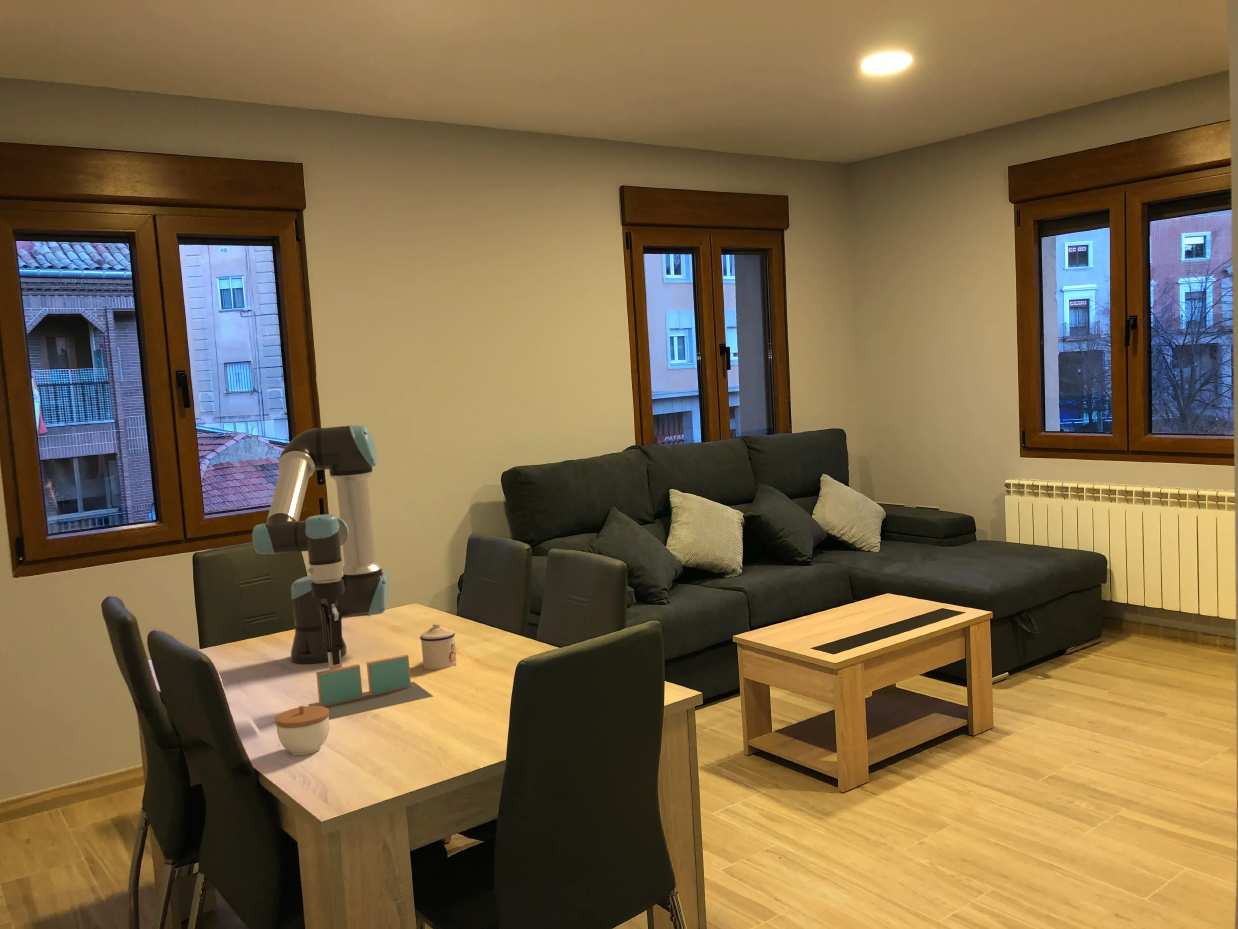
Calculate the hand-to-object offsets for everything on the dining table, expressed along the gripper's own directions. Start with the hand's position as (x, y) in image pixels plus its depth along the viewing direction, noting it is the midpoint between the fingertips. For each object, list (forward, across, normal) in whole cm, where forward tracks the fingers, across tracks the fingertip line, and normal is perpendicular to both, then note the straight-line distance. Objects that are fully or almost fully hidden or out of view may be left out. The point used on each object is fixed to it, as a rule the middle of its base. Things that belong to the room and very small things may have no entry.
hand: (336, 676), depth 239 cm
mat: (+6, +6, +6) cm, 11 cm away
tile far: (+6, +2, +12) cm, 13 cm away
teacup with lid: (+6, -13, +30) cm, 33 cm away
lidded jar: (+7, +28, -14) cm, 32 cm away
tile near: (+6, +2, 0) cm, 6 cm away
